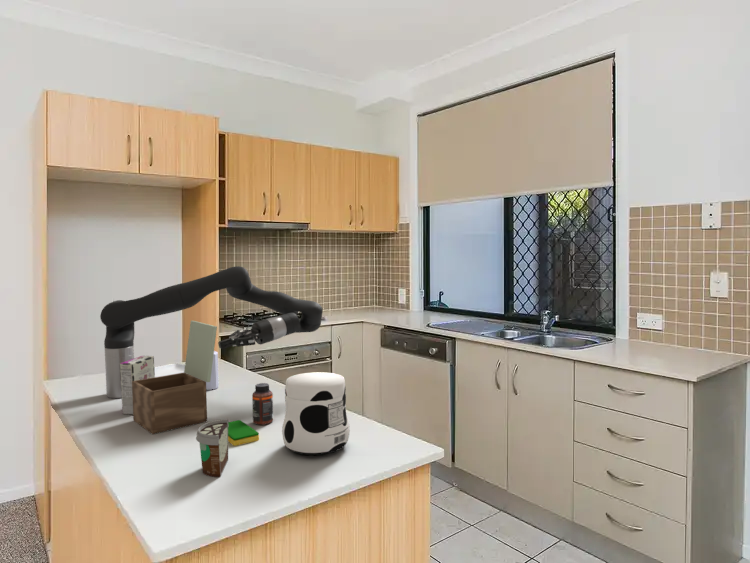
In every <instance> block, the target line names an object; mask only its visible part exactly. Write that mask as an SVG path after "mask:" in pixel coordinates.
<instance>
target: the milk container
mask: <svg viewBox="0 0 750 563" xmlns="http://www.w3.org/2000/svg"><path fill="white" fill-rule="evenodd" d="M284 394H285V395H284V403H285V406H284V407H285V413H284V419H283V424H282V426H281V427H282V430H281V432H282V433H281V434H282V440H283V444H284V446H285V447H286V448H287V450H289V451H291V452H294V453H295V454H298V455H307V456H319V455H328V454H330V453H334V452H337V451H339V450H341V449H342V448H344V447H345V446H346V445H347V443H348V441H349V439H350V431H351V430H350V421H349V417H348V414H347V413H348V412H347V407H346V405H347V404H346V403H347V394H346V380H345V377H344V376H343V375H341V374H338V373H333V372H326V371H325V372H323V371H321V372H320V371H319V372H317V371H315V372H304V373H297V374H295V375H290V376H289V377H287V378H286V381H285V386H284Z"/></svg>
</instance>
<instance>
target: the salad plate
mask: <svg viewBox="0 0 750 563" xmlns="http://www.w3.org/2000/svg"><path fill="white" fill-rule="evenodd" d="M154 370H155V377H160V376H166V375H172V374H178V373H184V370H185V363H184V364H183V363H176V362H175V363H170V364H164V365H159V366H154Z"/></svg>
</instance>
